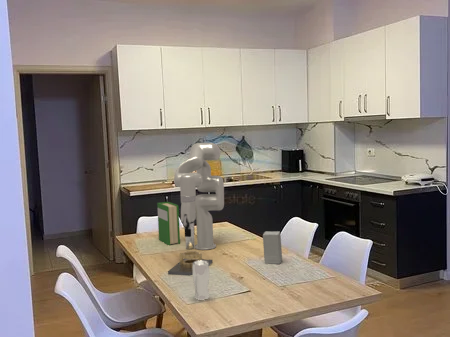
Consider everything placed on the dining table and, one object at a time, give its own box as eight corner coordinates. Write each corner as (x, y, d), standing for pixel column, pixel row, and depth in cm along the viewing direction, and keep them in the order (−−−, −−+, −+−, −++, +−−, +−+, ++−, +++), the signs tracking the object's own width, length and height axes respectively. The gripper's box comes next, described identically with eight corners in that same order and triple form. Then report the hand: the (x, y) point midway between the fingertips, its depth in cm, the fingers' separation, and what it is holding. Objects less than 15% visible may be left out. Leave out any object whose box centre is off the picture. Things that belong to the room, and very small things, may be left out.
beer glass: (193, 295, 190) (191, 260, 188) (209, 294, 190) (208, 259, 189) (193, 301, 183) (192, 265, 181) (210, 300, 183) (209, 264, 182)
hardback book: (180, 243, 278) (178, 205, 276) (168, 245, 275) (167, 206, 273) (169, 238, 294) (168, 201, 292) (159, 239, 290) (157, 202, 288)
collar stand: (183, 261, 240) (183, 247, 240) (212, 262, 236) (212, 248, 235) (168, 274, 219) (167, 259, 218) (199, 276, 215) (198, 260, 214)
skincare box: (282, 261, 235) (281, 231, 233) (279, 265, 228) (278, 234, 227) (266, 260, 238) (265, 230, 236) (263, 263, 231) (262, 233, 230)
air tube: (187, 247, 229) (186, 216, 228) (196, 247, 228) (194, 216, 227) (184, 249, 225) (183, 217, 224) (193, 249, 224) (191, 218, 222)
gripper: (186, 196, 234) (188, 231, 235) (175, 201, 218) (176, 239, 219) (200, 196, 232) (202, 232, 233) (189, 202, 216) (191, 239, 217)
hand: (189, 235), depth 226 cm, fingers closed on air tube, 4 cm apart
